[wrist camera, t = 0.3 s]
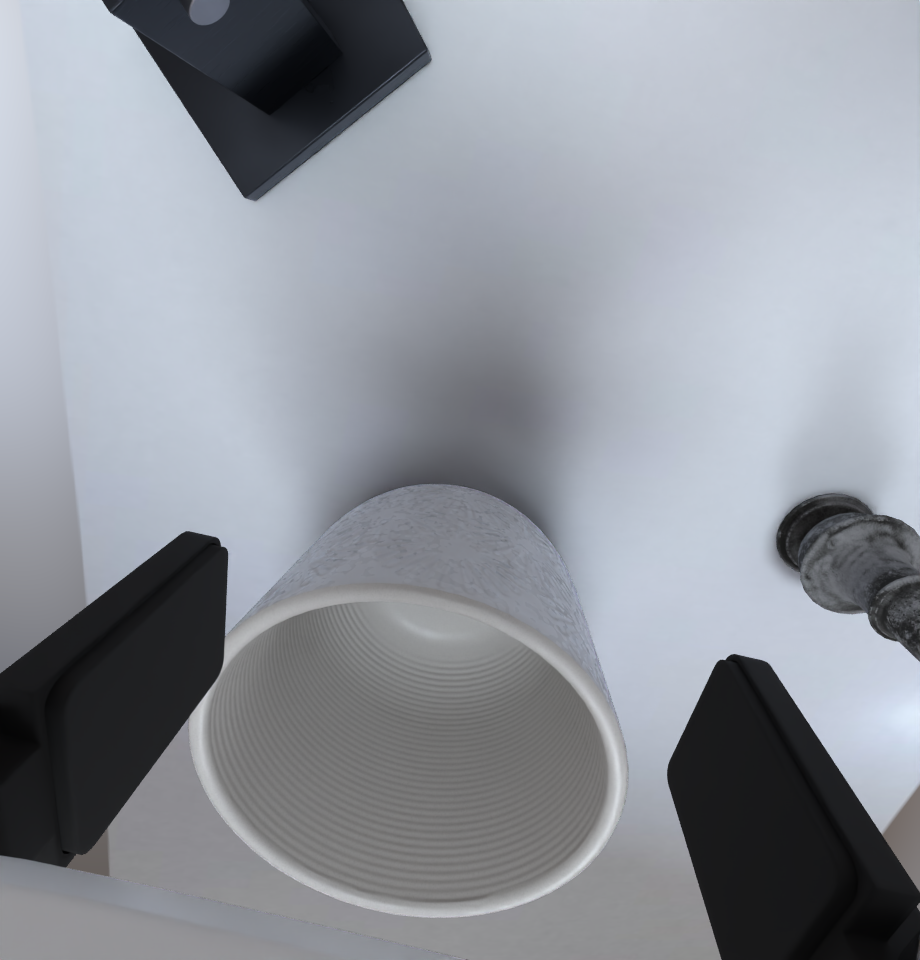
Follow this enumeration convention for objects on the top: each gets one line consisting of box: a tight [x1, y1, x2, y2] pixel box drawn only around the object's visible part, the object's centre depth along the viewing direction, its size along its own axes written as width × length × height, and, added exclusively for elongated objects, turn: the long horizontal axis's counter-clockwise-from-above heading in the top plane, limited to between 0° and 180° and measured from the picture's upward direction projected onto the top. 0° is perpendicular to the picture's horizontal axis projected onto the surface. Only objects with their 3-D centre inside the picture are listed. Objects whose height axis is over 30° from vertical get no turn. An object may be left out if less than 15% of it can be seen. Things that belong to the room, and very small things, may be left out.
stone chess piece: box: [777, 494, 920, 661], centre depth 25 cm, size 6×6×12 cm
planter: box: [188, 484, 628, 918], centre depth 27 cm, size 17×17×15 cm
